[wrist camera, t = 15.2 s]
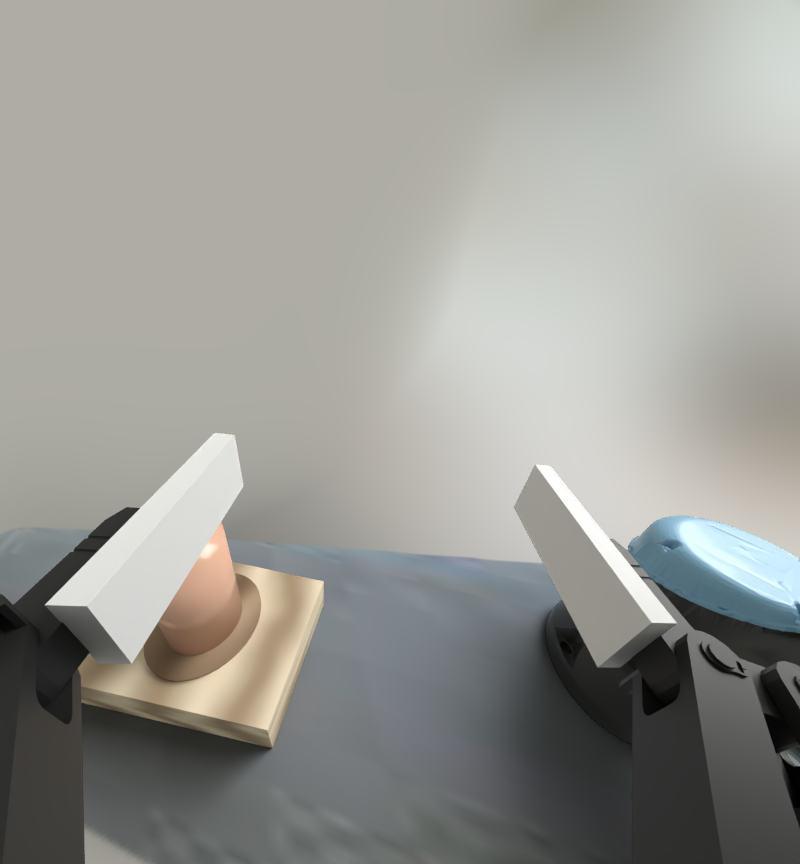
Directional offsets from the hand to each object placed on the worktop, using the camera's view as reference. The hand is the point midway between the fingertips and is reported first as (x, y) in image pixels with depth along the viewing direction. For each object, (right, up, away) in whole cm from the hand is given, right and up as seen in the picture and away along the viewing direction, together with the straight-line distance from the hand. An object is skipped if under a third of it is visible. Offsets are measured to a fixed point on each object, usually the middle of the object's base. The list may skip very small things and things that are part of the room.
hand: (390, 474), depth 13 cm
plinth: (-20, -22, +19) cm, 36 cm away
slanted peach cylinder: (-19, -17, +16) cm, 31 cm away
